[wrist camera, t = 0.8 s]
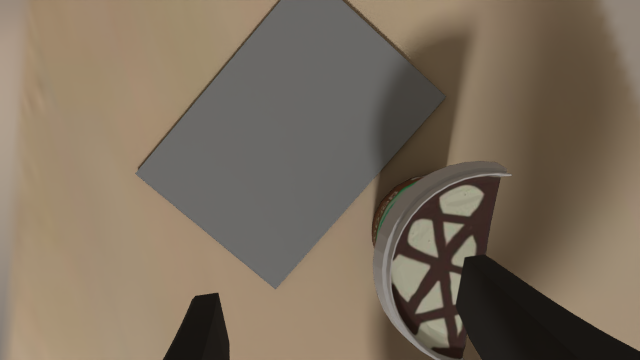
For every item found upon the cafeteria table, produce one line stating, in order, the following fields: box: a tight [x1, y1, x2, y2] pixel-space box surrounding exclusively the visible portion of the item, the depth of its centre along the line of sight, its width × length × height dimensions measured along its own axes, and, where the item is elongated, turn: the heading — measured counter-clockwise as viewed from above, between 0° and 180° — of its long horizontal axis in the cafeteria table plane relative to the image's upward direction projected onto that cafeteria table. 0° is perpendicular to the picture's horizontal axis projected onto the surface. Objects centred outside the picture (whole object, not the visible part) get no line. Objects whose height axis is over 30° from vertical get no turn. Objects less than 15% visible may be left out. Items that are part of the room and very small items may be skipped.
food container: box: [372, 161, 512, 360], centre depth 27 cm, size 12×6×10 cm, turn 170°
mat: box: [135, 0, 446, 289], centre depth 30 cm, size 14×20×1 cm
